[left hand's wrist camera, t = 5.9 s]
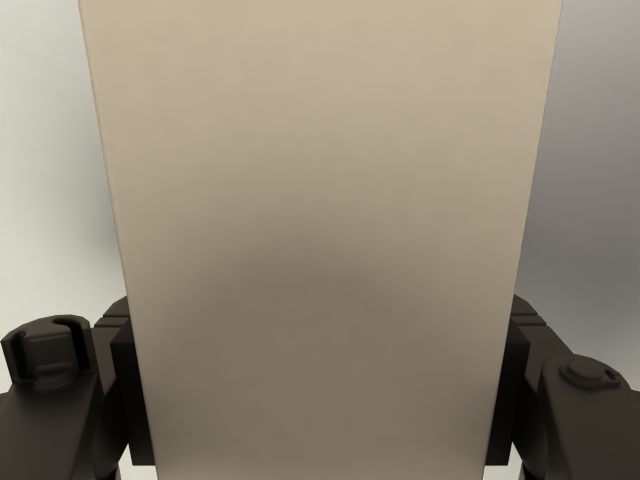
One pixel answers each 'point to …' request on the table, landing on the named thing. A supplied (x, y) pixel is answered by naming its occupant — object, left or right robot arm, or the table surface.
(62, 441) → the left robot arm
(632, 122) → the table surface
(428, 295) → the bar
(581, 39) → the table surface
